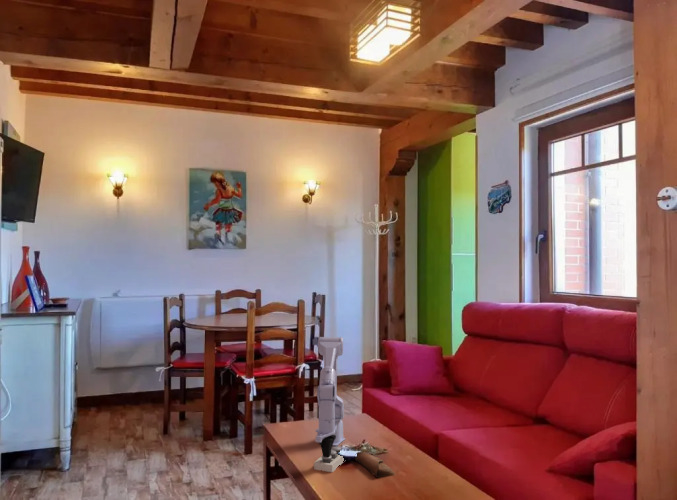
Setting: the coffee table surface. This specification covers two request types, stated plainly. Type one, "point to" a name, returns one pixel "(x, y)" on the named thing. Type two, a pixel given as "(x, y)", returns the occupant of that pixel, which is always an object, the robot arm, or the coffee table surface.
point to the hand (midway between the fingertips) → (326, 456)
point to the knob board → (328, 464)
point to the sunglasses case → (374, 465)
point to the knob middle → (333, 454)
